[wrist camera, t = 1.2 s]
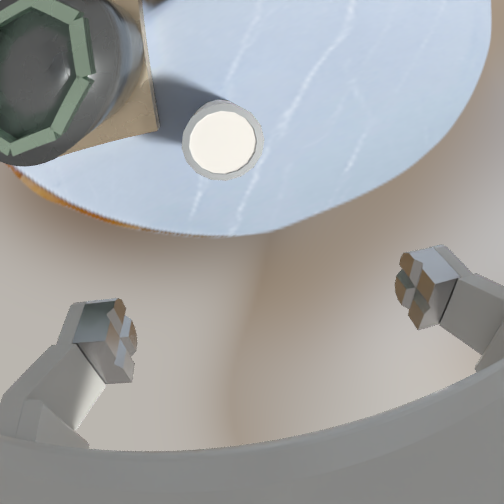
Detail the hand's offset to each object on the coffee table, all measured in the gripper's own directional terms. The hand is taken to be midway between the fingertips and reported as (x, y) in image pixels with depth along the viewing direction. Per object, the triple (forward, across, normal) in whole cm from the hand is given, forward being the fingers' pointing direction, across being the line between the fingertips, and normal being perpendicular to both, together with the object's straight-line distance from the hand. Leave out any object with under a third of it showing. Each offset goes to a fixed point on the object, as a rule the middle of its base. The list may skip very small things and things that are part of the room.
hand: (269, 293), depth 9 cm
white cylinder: (+26, 0, 0) cm, 26 cm away
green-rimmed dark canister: (+26, +13, -10) cm, 30 cm away
